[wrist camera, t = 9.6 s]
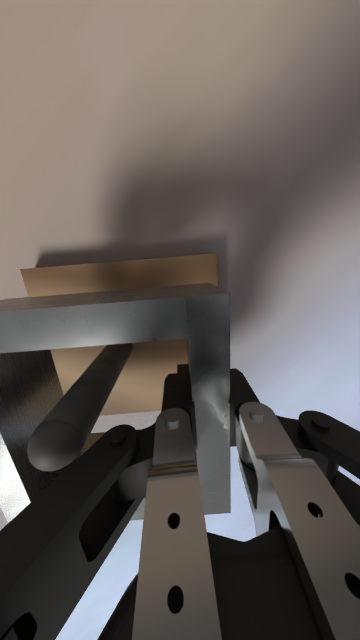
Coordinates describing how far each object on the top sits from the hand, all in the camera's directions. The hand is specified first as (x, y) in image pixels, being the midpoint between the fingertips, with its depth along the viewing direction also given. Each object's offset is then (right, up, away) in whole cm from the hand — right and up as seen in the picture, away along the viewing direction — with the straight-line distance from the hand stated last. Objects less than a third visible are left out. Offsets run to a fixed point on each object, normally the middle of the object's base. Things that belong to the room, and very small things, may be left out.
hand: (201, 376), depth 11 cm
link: (-5, 0, +1) cm, 5 cm away
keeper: (-6, +1, +7) cm, 9 cm away
